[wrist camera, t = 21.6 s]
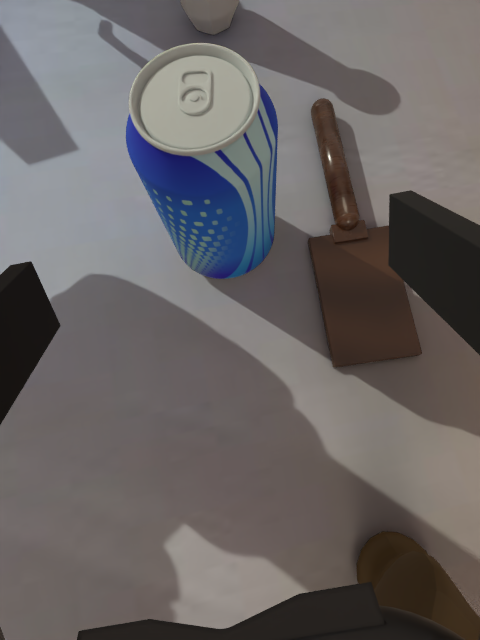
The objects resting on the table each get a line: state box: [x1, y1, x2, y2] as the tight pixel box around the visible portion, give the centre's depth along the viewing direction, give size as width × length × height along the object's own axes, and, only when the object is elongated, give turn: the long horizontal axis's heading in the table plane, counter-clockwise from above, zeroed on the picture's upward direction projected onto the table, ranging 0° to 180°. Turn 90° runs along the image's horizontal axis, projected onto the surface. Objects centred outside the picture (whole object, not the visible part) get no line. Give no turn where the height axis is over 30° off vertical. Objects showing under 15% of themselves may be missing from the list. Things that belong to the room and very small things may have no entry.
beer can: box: [126, 43, 278, 279], centre depth 28 cm, size 8×8×16 cm
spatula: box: [308, 98, 422, 368], centre depth 34 cm, size 24×7×2 cm, turn 8°
